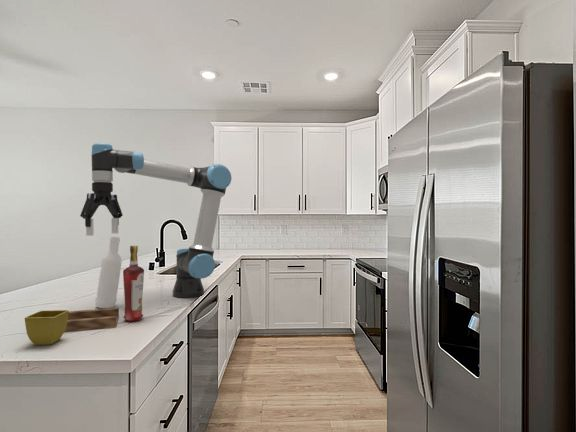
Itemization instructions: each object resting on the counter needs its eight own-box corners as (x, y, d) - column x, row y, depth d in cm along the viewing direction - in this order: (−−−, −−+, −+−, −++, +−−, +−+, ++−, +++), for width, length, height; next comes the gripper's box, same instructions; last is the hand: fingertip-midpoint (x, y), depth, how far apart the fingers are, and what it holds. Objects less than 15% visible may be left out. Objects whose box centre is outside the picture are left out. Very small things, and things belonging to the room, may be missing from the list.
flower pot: (40, 338, 117) (41, 310, 117) (69, 337, 118) (69, 309, 118) (23, 347, 108) (23, 317, 108) (54, 347, 109) (54, 317, 109)
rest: (118, 316, 142) (118, 307, 142) (115, 327, 128) (115, 317, 128) (43, 322, 133) (43, 313, 133) (31, 335, 119) (31, 324, 119)
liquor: (132, 316, 142) (132, 244, 142) (147, 318, 140) (148, 245, 140) (118, 321, 135) (118, 246, 135) (134, 323, 133) (135, 247, 133)
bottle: (106, 309, 152) (117, 239, 151) (90, 305, 153) (100, 235, 152) (119, 305, 160) (129, 237, 159) (103, 301, 161) (113, 234, 160)
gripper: (116, 184, 161) (117, 232, 161) (69, 179, 136) (69, 236, 137) (131, 184, 159) (131, 232, 159) (85, 179, 135) (86, 236, 135)
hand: (103, 234), depth 148 cm, fingers open, 13 cm apart
